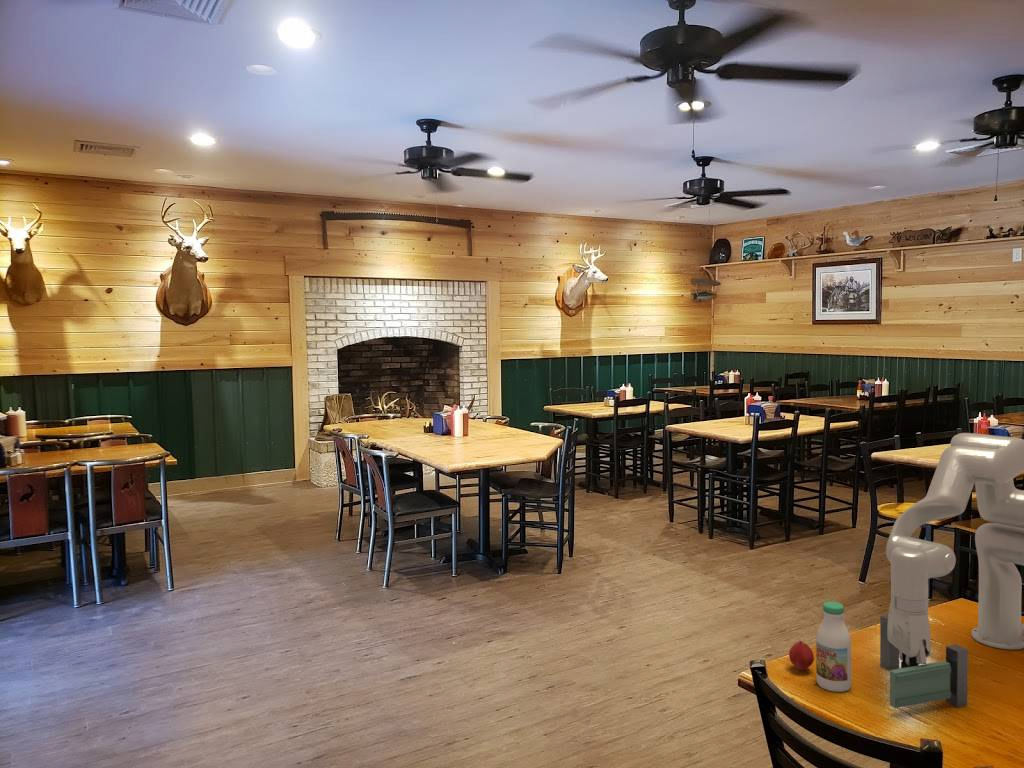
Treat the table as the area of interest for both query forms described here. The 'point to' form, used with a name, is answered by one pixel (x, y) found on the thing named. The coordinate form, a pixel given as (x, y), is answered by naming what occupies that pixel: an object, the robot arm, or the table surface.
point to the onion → (801, 655)
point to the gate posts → (953, 656)
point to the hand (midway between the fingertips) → (909, 678)
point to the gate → (920, 684)
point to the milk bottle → (833, 650)
